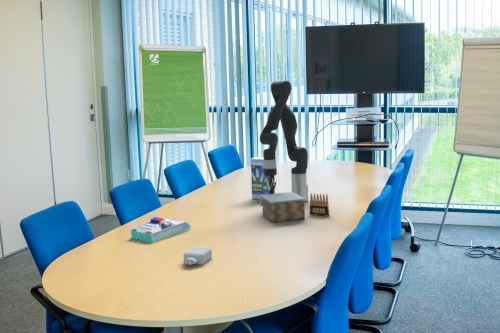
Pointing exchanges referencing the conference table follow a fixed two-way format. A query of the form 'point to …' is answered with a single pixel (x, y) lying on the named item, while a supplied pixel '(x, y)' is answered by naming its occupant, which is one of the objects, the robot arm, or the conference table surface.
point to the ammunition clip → (319, 205)
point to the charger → (197, 255)
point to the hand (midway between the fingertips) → (271, 196)
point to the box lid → (281, 197)
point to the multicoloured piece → (159, 229)
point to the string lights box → (258, 178)
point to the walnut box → (283, 211)
